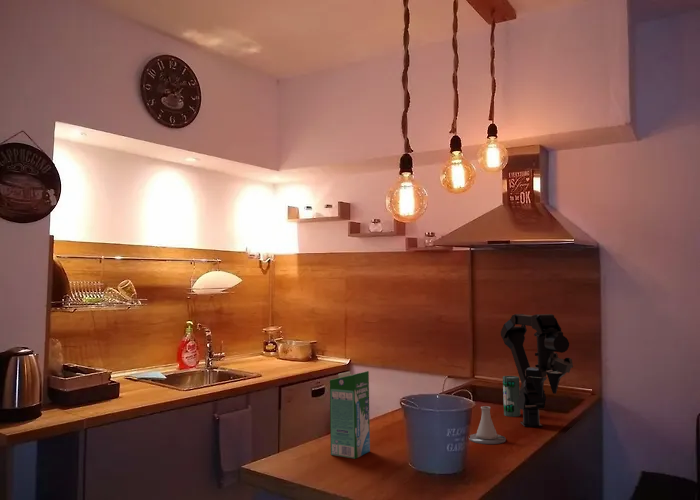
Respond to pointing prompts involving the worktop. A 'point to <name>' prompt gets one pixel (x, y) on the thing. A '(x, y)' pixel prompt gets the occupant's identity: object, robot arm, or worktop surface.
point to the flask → (486, 425)
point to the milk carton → (350, 415)
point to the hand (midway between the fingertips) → (547, 395)
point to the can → (511, 395)
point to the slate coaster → (487, 440)
